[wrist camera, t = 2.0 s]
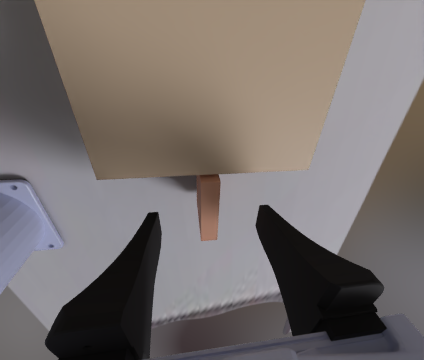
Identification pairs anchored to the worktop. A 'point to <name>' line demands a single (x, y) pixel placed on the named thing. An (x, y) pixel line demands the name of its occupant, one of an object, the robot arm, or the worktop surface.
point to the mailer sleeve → (199, 81)
